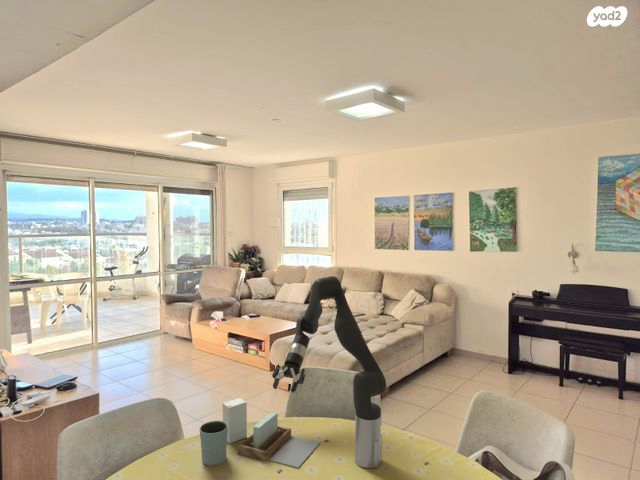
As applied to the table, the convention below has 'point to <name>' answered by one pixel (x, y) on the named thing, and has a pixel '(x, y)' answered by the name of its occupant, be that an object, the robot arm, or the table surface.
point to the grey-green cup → (213, 442)
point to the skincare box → (235, 419)
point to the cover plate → (265, 429)
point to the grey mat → (294, 452)
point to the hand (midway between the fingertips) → (283, 390)
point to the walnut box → (265, 444)
